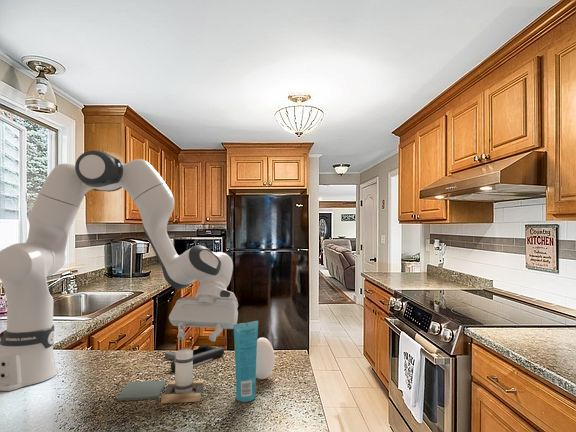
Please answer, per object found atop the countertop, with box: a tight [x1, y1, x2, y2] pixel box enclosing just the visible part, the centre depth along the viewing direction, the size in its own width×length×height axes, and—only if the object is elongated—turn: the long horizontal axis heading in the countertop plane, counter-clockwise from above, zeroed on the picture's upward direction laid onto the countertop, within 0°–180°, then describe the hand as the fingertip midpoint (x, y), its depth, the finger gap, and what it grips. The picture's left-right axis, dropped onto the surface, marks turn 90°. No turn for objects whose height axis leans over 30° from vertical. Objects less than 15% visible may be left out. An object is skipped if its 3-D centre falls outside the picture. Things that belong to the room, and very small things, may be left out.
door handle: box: [164, 344, 225, 372], centre depth 123 cm, size 3×20×16 cm
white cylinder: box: [174, 348, 194, 394], centre depth 97 cm, size 5×5×11 cm
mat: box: [116, 380, 167, 402], centre depth 98 cm, size 10×10×1 cm
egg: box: [256, 337, 276, 380], centre depth 107 cm, size 7×7×12 cm
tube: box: [232, 320, 259, 403], centre depth 95 cm, size 7×5×19 cm, turn 133°
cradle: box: [160, 379, 205, 404], centre depth 97 cm, size 9×9×2 cm
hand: (195, 339), depth 104 cm, fingers open, 8 cm apart
